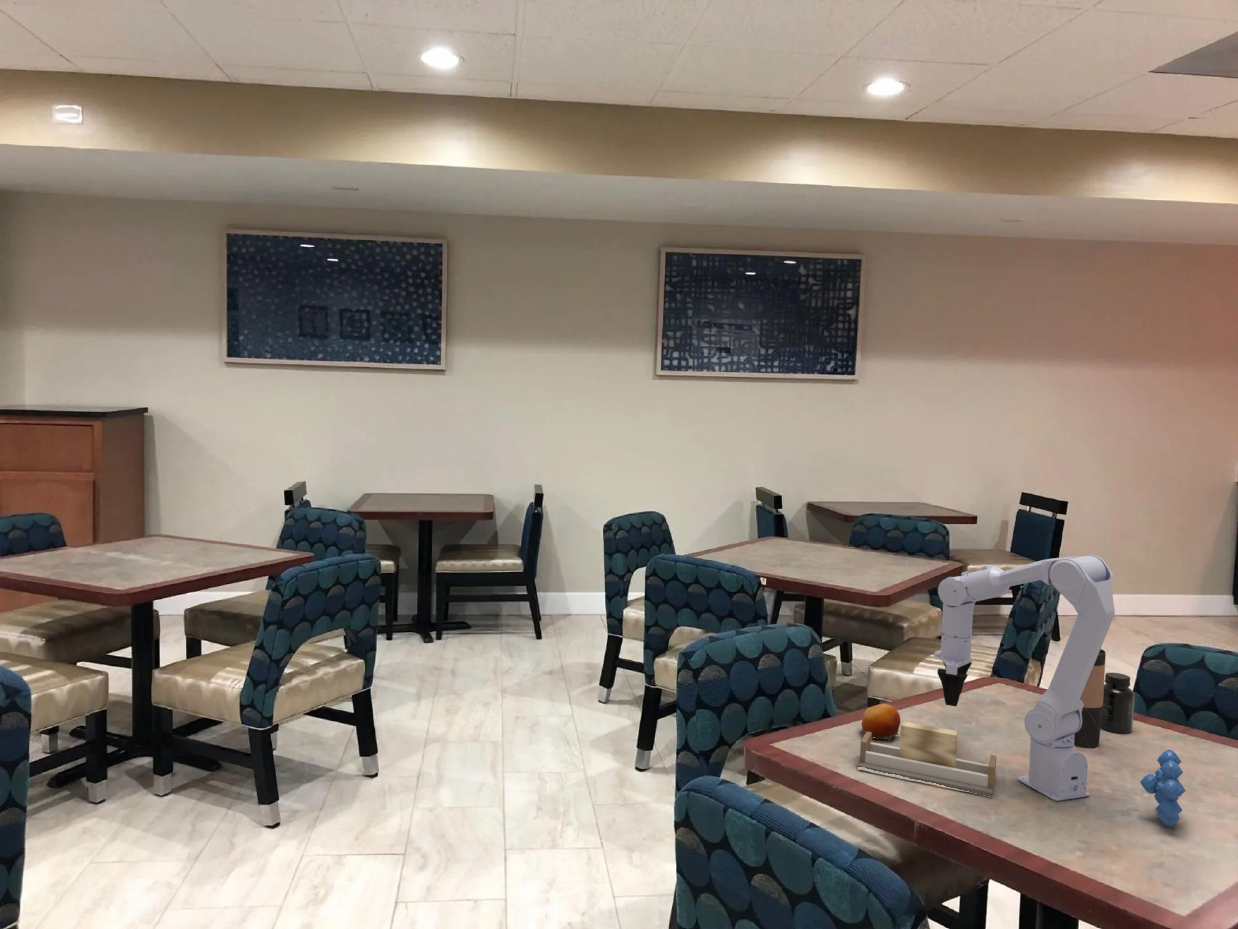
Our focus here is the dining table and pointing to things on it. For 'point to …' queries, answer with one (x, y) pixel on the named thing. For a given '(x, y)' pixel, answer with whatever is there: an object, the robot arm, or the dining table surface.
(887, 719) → the fruit
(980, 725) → the dining table surface
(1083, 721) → the travel mug
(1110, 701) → the supplement bottle
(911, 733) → the door panel
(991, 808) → the dining table surface
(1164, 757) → the grapes
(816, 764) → the dining table surface
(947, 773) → the track board
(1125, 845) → the dining table surface
